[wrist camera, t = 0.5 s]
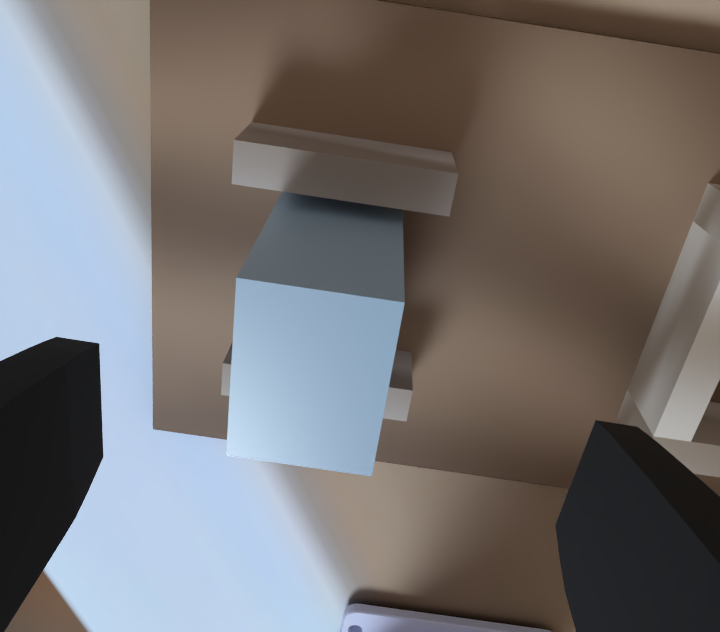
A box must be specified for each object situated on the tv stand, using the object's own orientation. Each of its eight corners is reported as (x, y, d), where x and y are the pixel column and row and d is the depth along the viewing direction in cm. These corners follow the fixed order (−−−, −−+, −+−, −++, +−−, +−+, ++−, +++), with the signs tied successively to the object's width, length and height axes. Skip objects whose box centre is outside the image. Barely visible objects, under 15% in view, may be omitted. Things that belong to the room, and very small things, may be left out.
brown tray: (825, 513, 22) (881, 582, 19) (159, 417, 21) (127, 475, 19) (1076, 108, 16) (1202, 133, 13) (158, -35, 15) (112, -37, 13)
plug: (379, 334, 19) (371, 476, 14) (274, 319, 19) (226, 455, 13) (402, 200, 17) (404, 302, 12) (287, 183, 17) (236, 277, 12)
